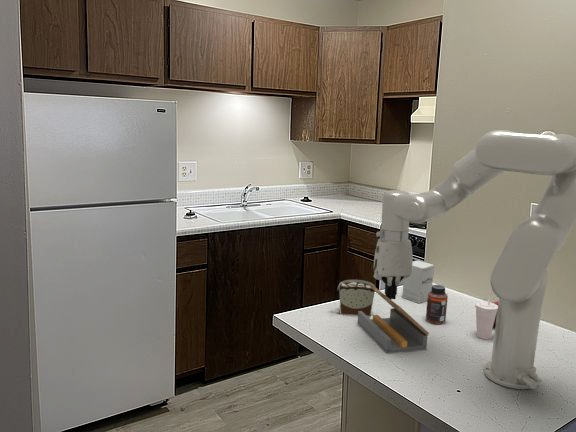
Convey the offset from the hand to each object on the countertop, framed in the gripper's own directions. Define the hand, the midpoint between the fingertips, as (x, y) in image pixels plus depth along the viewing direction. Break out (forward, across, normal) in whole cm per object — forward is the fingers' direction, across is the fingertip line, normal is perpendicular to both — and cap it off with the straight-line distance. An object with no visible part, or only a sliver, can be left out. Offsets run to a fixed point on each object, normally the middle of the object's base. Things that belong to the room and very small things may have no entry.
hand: (390, 297), depth 146 cm
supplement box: (+12, +24, +26) cm, 37 cm away
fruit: (+12, +38, -1) cm, 40 cm away
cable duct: (+12, +1, 0) cm, 12 cm away
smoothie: (+12, +28, -6) cm, 31 cm away
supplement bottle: (+12, +20, +7) cm, 24 cm away
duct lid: (+4, +2, 0) cm, 4 cm away
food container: (+12, -2, +19) cm, 23 cm away
